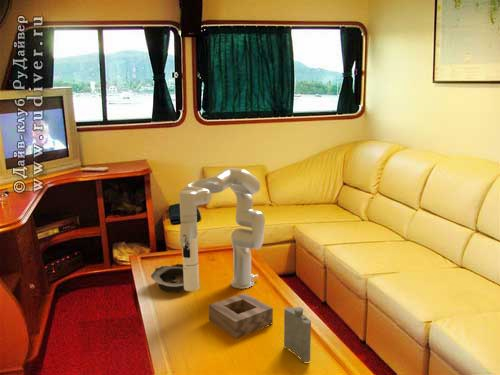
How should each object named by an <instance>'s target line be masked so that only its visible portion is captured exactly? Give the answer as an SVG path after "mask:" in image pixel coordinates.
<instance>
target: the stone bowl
mask: <svg viewBox="0 0 500 375" xmlns="http://www.w3.org/2000/svg"><path fill="white" fill-rule="evenodd" d="M150 275H151V276H150V278H151V279H152V280H153V281H154V282H155V283H156V284H158V287H159V289H160V290H161V291H163V292H165V293H180V292H183V291H186V290H185V289H184V277H183V263H180V264H179V263H176V264H174V265H173V264H172V265H171V266H169V265H162V266H160V267H156V268H155V269H154V271H153V273H152V274H150Z"/></svg>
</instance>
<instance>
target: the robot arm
mask: <svg viewBox="0 0 500 375" xmlns="http://www.w3.org/2000/svg"><path fill="white" fill-rule="evenodd" d="M228 188H230V189H231V191H232V192H233V193H234V194H235V198H236V211H235V212H236V213H235V222H236V224H237V225H238V226H241V227H240V228H239V227H238V228H235V229H234V230H233V231H232V232H231V236H230V239H231V240H230V241H231V243H232V250H233V255H232V256H233V258H232V259H233V279H232V280H231V281H230V286H231V287H233V288H235V289H238V288H239V289H240V290H241V289H242V290H243V289H244V290H246V289H250V288H252V287H253V286H254V285H255V281H254V279H258V278H259V274H253V273H252V252H251V249H253V250H259V249H261V248H262V246H263V243H264V237H265V236H264V235H265V227H266V226H265V224H266V219H265V215H264V213H263V212H262V211H260V210H256V209H253V206H254V198H253V195H257V194H258V193H259V192H260V190H261V183H260V181H259V179H258V178H257V177H256V176H254V175H253V174H252V173H250V172H249V171H247V170H246V169H243V168H234V167H229V168H225V169H224V170H222V171H220V172H218V173H217V174H215V175H213V176H209V177H206V178H203V179H197V180H195V181H192V182H190V183H188V184H187V185H186V186H184V187H183V189H182V191H181V192H180V193H179V196H178V197H179V213H180V214H179V218H180V220H179V221H180V227H179V242H180V245H181V249H183V256H182V258H183V257H185V258H190V249H189V246H190V243H191V240H192V239H193V238H194V237H196V236H197V237H198V226H197V225H198V224H197V221H198V212H197V207H198V206H201V205H205V204H208V203H209V202H210V201H211V200H212V194H218V193H221V192H224V191H225V190H227V189H228ZM242 227H244V228H242ZM247 228H249V229H247ZM186 240H187V241H188V243H186ZM185 244H188V245H187V246H186V245H185ZM251 286H252V287H251ZM249 287H250V288H249ZM245 288H246V289H245Z"/></svg>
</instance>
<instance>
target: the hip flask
mask: <svg viewBox="0 0 500 375" xmlns="http://www.w3.org/2000/svg"><path fill="white" fill-rule="evenodd" d="M283 311H284V313H283V314H284V316H283V319H284V320H283V322H284V324H283V325H284V326H283V327H284V328H283V329H284V330H283V332H284V333H283V342H284V343H283V347H284V346H285V347H286V348H288V349H290V350H291V351H292V352H294V353H295V354H296V355H297V356H299V357H300V358H301V360H302V361H303V362H309V361H310V362H311V340H312V339H311V338H312V337H311V335H312V330H311V329H312V327H311V326H312V321H311V320H310V318H309V317H307V316H306V315H305V314H303V313H304V308H303V307H301V306H300V307H299V306H296V307H294V308H293V307H290V306H286V307H284V310H283ZM292 352H291V353H292ZM296 355H295V356H296ZM297 356H296V357H297ZM301 360H300V361H301ZM302 361H301V362H302ZM303 362H302V363H303Z"/></svg>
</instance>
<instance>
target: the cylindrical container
mask: <svg viewBox="0 0 500 375" xmlns="http://www.w3.org/2000/svg"><path fill="white" fill-rule="evenodd" d="M186 243H188V241H187V240H186ZM185 245H186V246H187V245H188V244H185ZM198 245H199V244H198V235H197V236H196V237H194V238H193V239H192V240H191V243H190V246H189V249H190V258H185V257H183V249H182V248H181V249H182V250H181V252H182V253H181V254H182V255H181V256H182V265H183V277H184V289H185V290H184V291H186V292H196V291H198V290H199V289H200V278H199V277H200V272H199V268H200V267H199V250H198V249H199V248H198Z"/></svg>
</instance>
